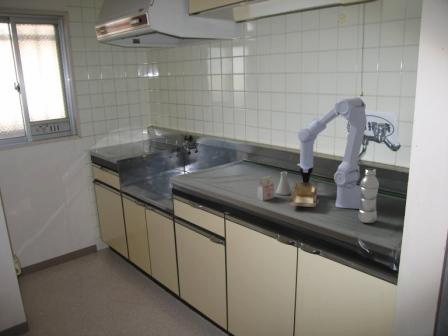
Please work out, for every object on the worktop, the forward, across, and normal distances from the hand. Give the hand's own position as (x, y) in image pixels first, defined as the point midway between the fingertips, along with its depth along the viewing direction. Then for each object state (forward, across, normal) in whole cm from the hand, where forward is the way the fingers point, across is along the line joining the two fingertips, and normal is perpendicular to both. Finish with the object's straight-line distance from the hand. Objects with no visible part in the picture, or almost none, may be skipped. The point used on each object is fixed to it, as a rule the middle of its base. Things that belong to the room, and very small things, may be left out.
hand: (305, 183), depth 173 cm
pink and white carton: (+5, +10, -17) cm, 20 cm away
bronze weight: (+1, +12, 0) cm, 12 cm away
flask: (+5, +1, -10) cm, 11 cm away
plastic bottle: (+5, +30, +24) cm, 39 cm away
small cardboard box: (+2, +12, 0) cm, 12 cm away
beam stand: (+5, +12, 0) cm, 13 cm away
